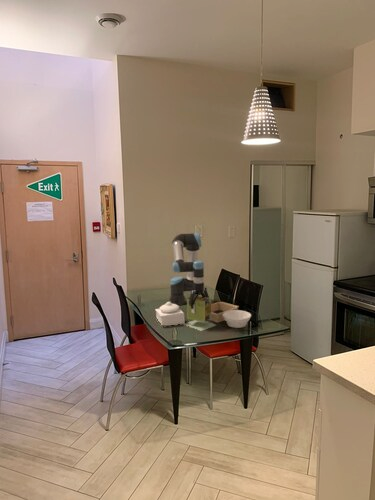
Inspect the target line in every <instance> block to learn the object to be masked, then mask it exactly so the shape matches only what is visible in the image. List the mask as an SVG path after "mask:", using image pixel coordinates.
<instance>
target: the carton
mask: <svg viewBox="0 0 375 500" xmlns="http://www.w3.org/2000/svg"><path fill="white" fill-rule="evenodd" d="M239 307H240V306H239V305H235V304H231V303H228V302H225V301H218V302H215V303H211V319H209V320H208V321H212V322H215V323H220V322H223V321H225V319H224V317H223V313H224V312H227V311H231V310H239ZM216 311H221V312H219V313H216Z"/></svg>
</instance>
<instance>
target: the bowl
mask: <svg viewBox="0 0 375 500" xmlns="http://www.w3.org/2000/svg"><path fill="white" fill-rule="evenodd" d="M223 312H224V311H223ZM223 317H224V319H225V320H224V321H226V325H227V326H229V327H230V328H233V329H234V328H235V329H238V328H239V329H240V328H244V327H246V326H247V323H248V322H249V321H250V319H251V317H252V313H251V312H248V311H246V310H240V309H238V310H231V311H227V312H224V313H223Z"/></svg>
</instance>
